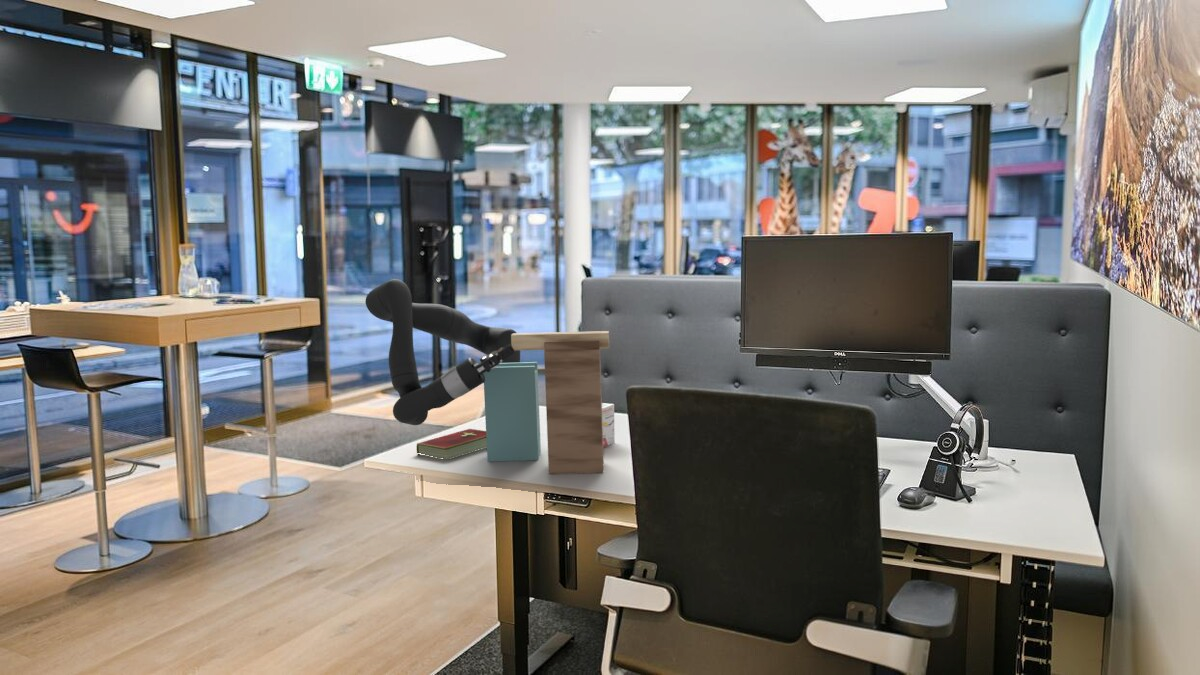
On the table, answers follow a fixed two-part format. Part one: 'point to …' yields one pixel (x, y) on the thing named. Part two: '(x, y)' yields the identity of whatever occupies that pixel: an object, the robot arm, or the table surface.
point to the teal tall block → (512, 412)
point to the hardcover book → (453, 444)
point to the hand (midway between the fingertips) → (515, 346)
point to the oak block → (556, 339)
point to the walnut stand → (574, 407)
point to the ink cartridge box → (608, 424)
